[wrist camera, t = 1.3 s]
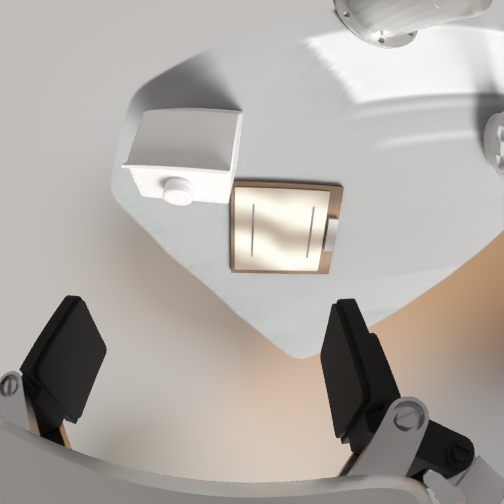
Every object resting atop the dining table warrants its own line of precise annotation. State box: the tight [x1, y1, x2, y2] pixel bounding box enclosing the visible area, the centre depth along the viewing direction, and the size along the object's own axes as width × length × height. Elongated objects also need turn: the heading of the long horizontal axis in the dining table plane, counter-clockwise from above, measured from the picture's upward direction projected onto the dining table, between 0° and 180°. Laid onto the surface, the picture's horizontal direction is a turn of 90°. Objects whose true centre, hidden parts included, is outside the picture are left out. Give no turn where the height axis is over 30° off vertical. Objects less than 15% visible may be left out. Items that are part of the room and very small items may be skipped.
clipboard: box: [231, 181, 344, 274], centre depth 38 cm, size 14×15×1 cm
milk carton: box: [121, 108, 243, 205], centre depth 24 cm, size 7×7×19 cm
